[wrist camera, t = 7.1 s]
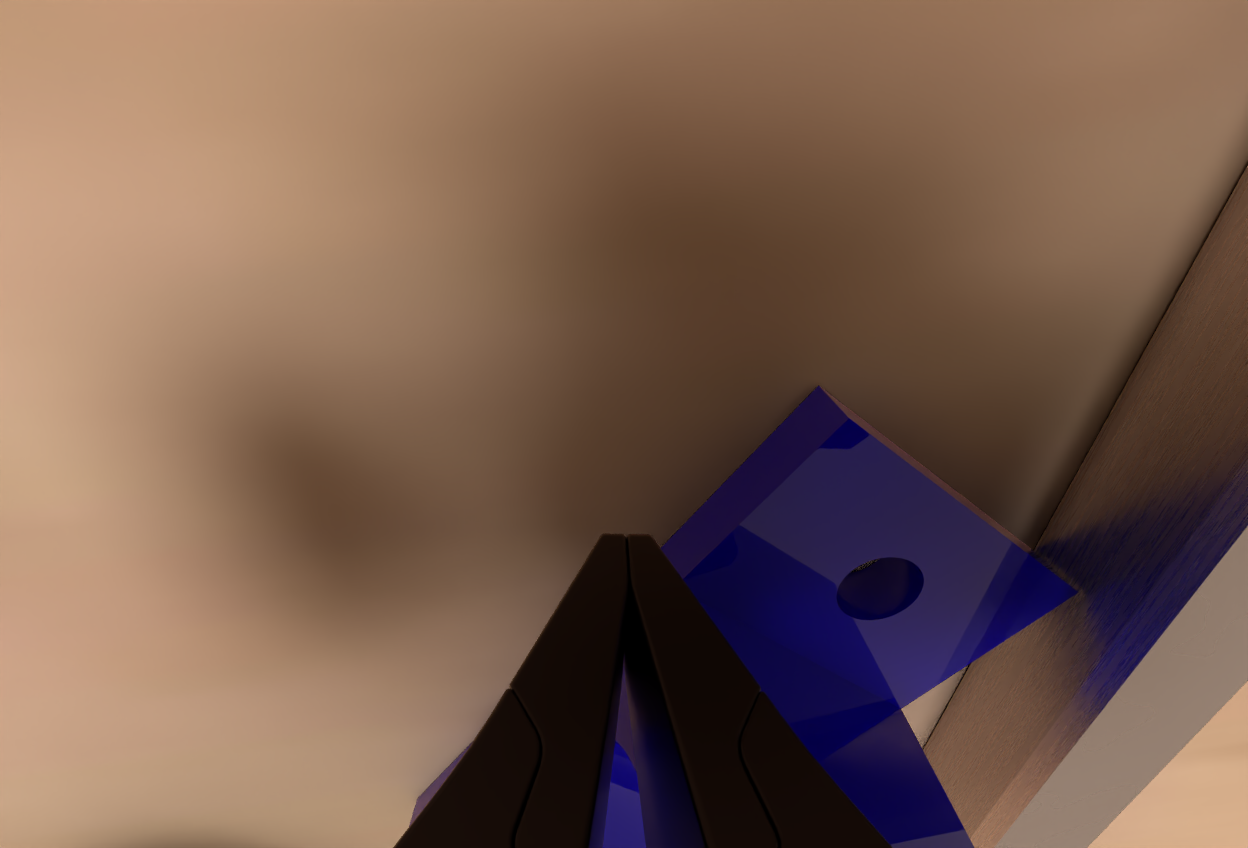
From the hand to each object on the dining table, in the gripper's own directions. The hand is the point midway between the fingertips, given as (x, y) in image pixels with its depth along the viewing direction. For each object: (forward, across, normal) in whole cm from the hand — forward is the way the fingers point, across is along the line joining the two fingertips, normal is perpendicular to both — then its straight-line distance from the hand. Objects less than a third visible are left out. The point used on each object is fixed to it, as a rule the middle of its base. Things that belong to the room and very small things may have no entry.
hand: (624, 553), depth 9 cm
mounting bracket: (+3, -2, +7) cm, 8 cm away
